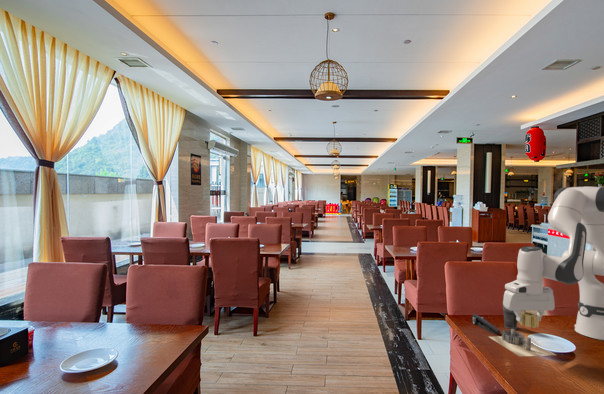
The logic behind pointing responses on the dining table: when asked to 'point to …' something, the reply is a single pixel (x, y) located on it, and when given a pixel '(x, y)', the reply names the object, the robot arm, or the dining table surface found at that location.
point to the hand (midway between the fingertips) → (528, 320)
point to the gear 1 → (513, 337)
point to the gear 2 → (529, 319)
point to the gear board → (523, 347)
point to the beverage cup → (509, 319)
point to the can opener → (484, 324)
